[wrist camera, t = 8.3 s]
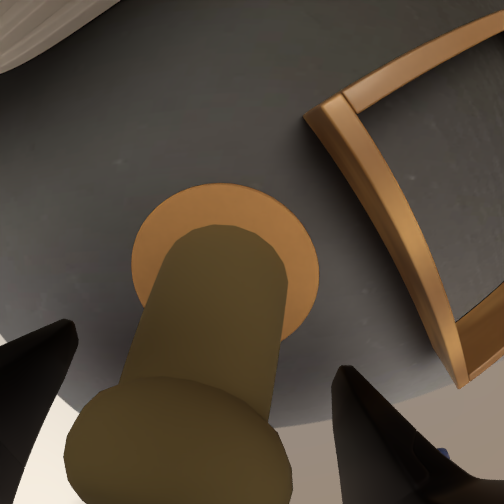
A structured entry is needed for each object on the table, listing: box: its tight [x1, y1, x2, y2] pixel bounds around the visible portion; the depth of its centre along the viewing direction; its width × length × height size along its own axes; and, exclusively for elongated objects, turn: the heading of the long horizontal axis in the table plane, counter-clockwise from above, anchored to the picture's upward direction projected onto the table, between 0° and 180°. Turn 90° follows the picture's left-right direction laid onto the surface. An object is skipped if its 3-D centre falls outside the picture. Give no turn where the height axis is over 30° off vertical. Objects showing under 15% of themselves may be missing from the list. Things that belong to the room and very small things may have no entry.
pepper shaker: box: [63, 224, 293, 504], centre depth 8 cm, size 6×6×11 cm
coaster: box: [131, 183, 319, 341], centre depth 14 cm, size 9×9×1 cm
